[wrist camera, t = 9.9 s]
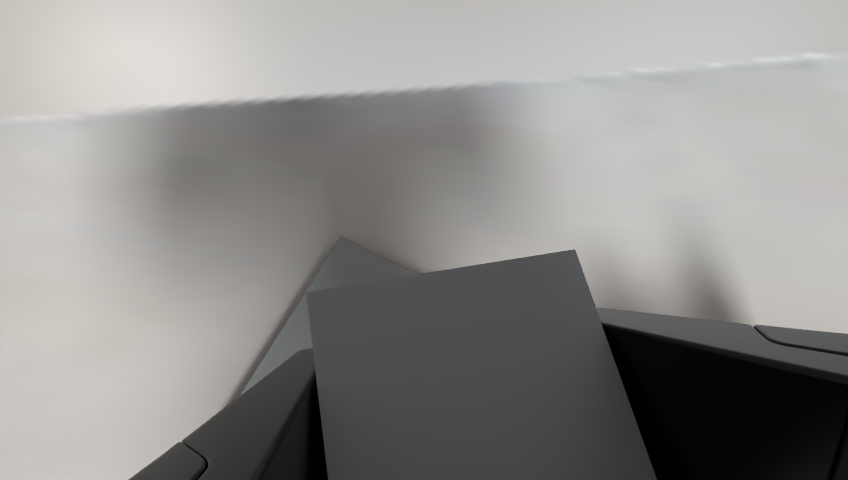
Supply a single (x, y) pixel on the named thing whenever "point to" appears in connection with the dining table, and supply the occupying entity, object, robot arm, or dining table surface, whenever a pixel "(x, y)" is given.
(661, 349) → the robot arm
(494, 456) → the block
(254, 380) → the pad
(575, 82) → the dining table surface
